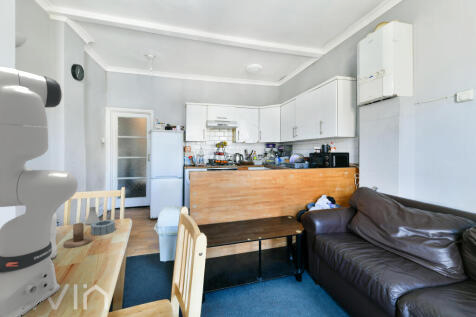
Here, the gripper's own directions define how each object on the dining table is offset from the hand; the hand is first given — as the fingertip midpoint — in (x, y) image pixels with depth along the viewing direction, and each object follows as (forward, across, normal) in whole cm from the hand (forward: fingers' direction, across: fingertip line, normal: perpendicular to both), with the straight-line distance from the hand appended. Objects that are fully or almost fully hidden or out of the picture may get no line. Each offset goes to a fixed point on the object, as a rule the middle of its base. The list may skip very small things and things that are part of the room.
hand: (47, 198), depth 94 cm
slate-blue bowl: (+29, +13, +3) cm, 32 cm away
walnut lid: (+25, 0, +7) cm, 26 cm away
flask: (+22, +28, +10) cm, 37 cm away
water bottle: (+21, -15, +11) cm, 28 cm away
